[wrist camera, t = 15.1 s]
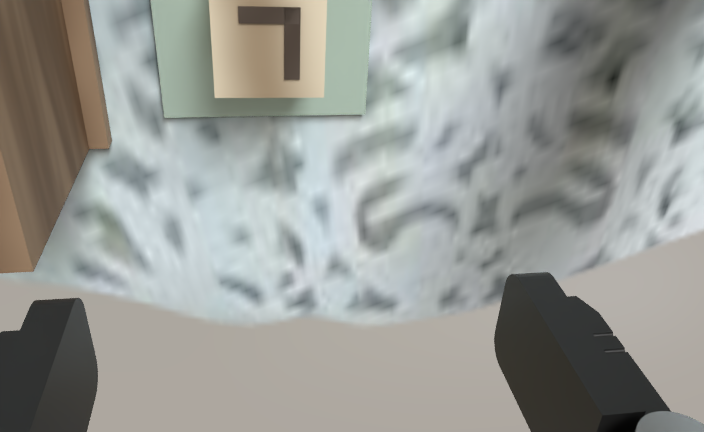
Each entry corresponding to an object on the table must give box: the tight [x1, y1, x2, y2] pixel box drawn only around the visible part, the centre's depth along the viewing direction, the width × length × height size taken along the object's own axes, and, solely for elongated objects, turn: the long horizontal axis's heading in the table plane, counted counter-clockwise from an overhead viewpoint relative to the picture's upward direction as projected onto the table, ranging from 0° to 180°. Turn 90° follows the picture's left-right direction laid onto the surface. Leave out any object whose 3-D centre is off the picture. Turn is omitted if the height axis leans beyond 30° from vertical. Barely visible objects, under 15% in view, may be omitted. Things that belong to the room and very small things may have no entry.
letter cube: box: [209, 0, 327, 98], centre depth 30 cm, size 5×5×5 cm
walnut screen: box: [0, 0, 112, 273], centre depth 26 cm, size 4×14×12 cm, turn 177°
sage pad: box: [150, 0, 372, 118], centre depth 32 cm, size 11×11×1 cm
